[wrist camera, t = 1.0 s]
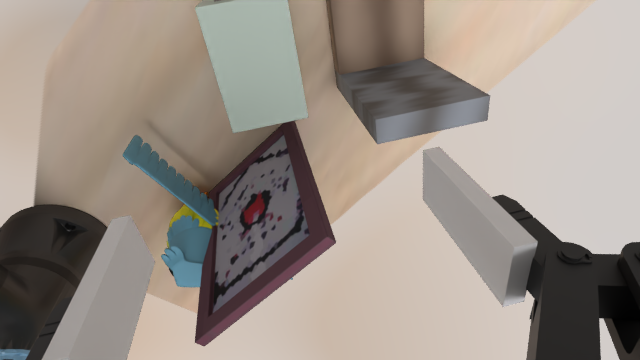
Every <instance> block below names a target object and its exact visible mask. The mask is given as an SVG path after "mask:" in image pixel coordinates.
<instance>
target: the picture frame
mask: <svg viewBox="0 0 640 360" xmlns="http://www.w3.org/2000/svg"><path fill="white" fill-rule="evenodd" d="M209 199H212V200H213V202H214V209H216V210H217V211H218V213H219V215H218V217H219V218H218V225H217V226H216V225H215V226H212V233H211V237H210V240H209V243H208V247H207V250H206V254H205V257H204V261H203V265H202V273H201V284H200V294H199V304H198V315H197V325H196V336H195V343H197V344H200V345H202V346H205V345H207V344H208V343H209V342H211V341H212V340H213V339H214V338H216V337H217V336H218V335H220V334H221V333H222V332H223V331H225V330H226V329H227V328H228V327H230V326H231V325H232V324H233V323H235V322H236V321H237V320H239V319H240V318H241V317H242V316H244V315H245V314H246V313H247V312H249V311H250V310H251V309H253V307H255V306H256V305H257V304H259V303H260V302H261V301H263V300H264V299H265V298H267V297H268V296H269V295H270V294H272V293H273V292H274V291H275V290H277V289H278V288H279V287H280V286H282V285H283V284H284V283H286V282H287V281H288V280H289V279H291V278H292V277H293V276H294V275H296V274H297V273H298V272H300V271H301V270H302V269H303V268H304V267H306V266H307V265H308V264H310V263H311V262H312V261H313V260H315V259H316V258H317V257H318V256H320V255H321V254H322V253H324V252H325V251H326V250H327V249H329V248H330V247H331V246H332V245H334V244H335V243H336V241H335V238H334V235H333V232H332V229H331V226H330V223H329V220H328V217H327V214H326V211H325V208H324V205H323V203H322V200H321V197H320V194H319V191H318V188H317V185H316V182H315V179H314V176H313V173H312V170H311V167H310V165H309V162H308V159H307V156H306V153H305V150H304V147H303V144H302V141H301V138H300V135H299V132H298V129H297V127H296V124H295V122H294V121H289V122H285V123H283V124H282V125H281V126H280V127H279V128H278V129H277V130H276V131H275V132H274V133H273V134H271V135H270V136H269V137H268V138H267V139H266V140H265V141H264V142H263V143H262V144H261V145H260V146H259V147H257V148H256V149H255V150H254V151H253V152H252V153H251V154H250V155H249V156H248V157H247V158H246V159H245V160H243V161H242V162H241V163H240V164H239V165H238V166H237V167H236V168H235V169H234V170H233V171H232V172H231V173H230V174H228V175H227V176H226V177H225V178H224V179H223V180H222V181H221V182H220V183H219V184H218V185H217V186H216V187H214V188H213V189H212V190H211V191H210V192H209Z"/></svg>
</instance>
